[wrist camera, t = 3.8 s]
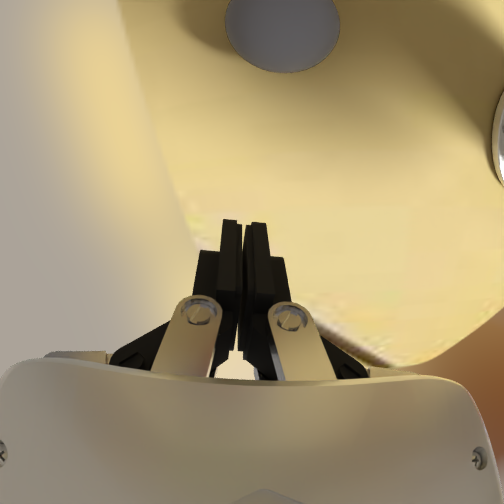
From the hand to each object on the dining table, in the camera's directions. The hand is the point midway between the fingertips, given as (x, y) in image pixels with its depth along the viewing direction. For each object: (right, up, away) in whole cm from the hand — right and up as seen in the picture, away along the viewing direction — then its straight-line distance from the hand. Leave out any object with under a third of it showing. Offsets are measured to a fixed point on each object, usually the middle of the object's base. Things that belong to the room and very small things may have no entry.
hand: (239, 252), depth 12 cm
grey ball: (+2, +12, 0) cm, 12 cm away
